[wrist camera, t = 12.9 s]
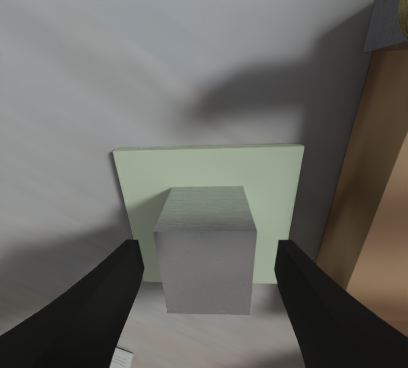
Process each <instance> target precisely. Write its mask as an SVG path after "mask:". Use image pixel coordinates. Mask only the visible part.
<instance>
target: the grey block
mask: <svg viewBox="0 0 408 368" xmlns="http://www.w3.org/2000/svg"><path fill="white" fill-rule="evenodd" d="M153 235H154V240H155V246H156V251H157V257H158V262H159V268H160V273H161V279H162V284H163V290H164V295H165V301H166V306H167V312H168V313H187V314H233V315H249V314H250V304H251V293H252V282H253V272H254V261H255V251H256V240H257V229H256V226H255V223H254V219H253V216H252V213H251V210H250V207H249V203H248V200H247V197H246V194H245V191H244V187H243V186H204V187H172V189H171V191H170V194H169V196H168V198H167V201H166V203H165V205H164V207H163V210H162V212H161V214H160V217H159V219H158V221H157V224H156V226H155V228H154V230H153Z"/></svg>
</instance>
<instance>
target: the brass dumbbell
mask: <svg viewBox="0 0 408 368" xmlns="http://www.w3.org/2000/svg"><path fill="white" fill-rule="evenodd" d="M395 50H408V0H375V3H374V7H373V12H372V16H371V20H370V24H369V29H368V33H367V37H366V41H365V46H364V50H363V53H368V52H382V51H395Z"/></svg>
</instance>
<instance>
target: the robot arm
mask: <svg viewBox="0 0 408 368" xmlns="http://www.w3.org/2000/svg"><path fill="white" fill-rule="evenodd" d="M144 269H145V267H144V263H143V259H142V254H141V250H140V245H139V241H138V240H126V241H125V242H124V243H122V244H121V245H120V246H119V247H118V248H117V249H116V250H115V251H114V252H112V253H111V254H110V255H109V256H108V257H107V258H106V259H105V260H103V261H102V262H101V263H100V264H99V265H98V266H97V267H95V268H94V269H93V270H92V271H91V272H90V273H88V274H87V275H86V276H85V277H84V278H82V279H81V280H80V281H79V282H77V283H76V284H75V285H74V286H72V287H71V288H70V289H69V290H67V291H66V292H65V293H63V294H62V295H61V296H59V297H58V298H57V299H55V300H54V301H53V302H51V303H50V304H48V305H47V306H46V307H44V308H43V309H41V310H40V311H38V312H37V313H35V314H34V315H32V316H31V317H29V318H28V319H26V320H25V321H23V322H21V323H20V324H18V325H17V326H15V327H14V328H12V329H11V330H9V331H8V332H6V333H4V334H3V335H1V336H0V368H110V365H111V361H112V358H113V355H114V352H115V349H116V346H117V343H118V340H119V338H120V335H121V332H122V330H123V328H124V325H125V323H126V320H127V318H128V315H129V313H130V310H131V308H132V305H133V303H134V300H135V298H136V295H137V293H138V290H139V287H140V284H141V280H142V277H143V273H144ZM274 272H275V276H276V280H277V284H278V288H279V291H280V294H281V297H282V300H283V303H284V305H285V308H286V311H287V313H288V316H289V319H290V322H291V324H292V327H293V330H294V332H295V335H296V338H297V340H298V343H299V346H300V349H301V352H302V356H303V359H304V363H305V366H306V368H408V337H407V336H405V335H404V334H402V333H401V332H399V331H398V330H397V329H395V328H394V327H392V326H391V325H389V324H388V323H387V322H385V321H384V320H383V319H381V318H380V317H378V316H377V315H376V314H375V313H373V312H372V311H371V310H369V309H368V308H367V307H365V306H364V305H363V304H361V303H360V302H359V301H358V300H356V299H355V298H354V297H353V296H351V295H350V294H349V293H348V292H347V291H345V290H344V289H343V288H342V287H341V286H340V285H338V284H337V283H336V282H335V281H334V280H333V279H332V278H330V277H329V276H328V275H327V274H326V273H325V272H324V271H323V270H322V269H321V268H320V267H318V266H317V265H316V264H315V263H314V262H313V261H312V260H311V259H310V258H309V257H308V256H307V255H306V254H305V253H304V252H303V251H302V250H301V249H300V248H299V247H298V246H297V245H296V244H295V243H294V242H293V241H292V240H278V247H277V253H276V260H275V266H274Z"/></svg>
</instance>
